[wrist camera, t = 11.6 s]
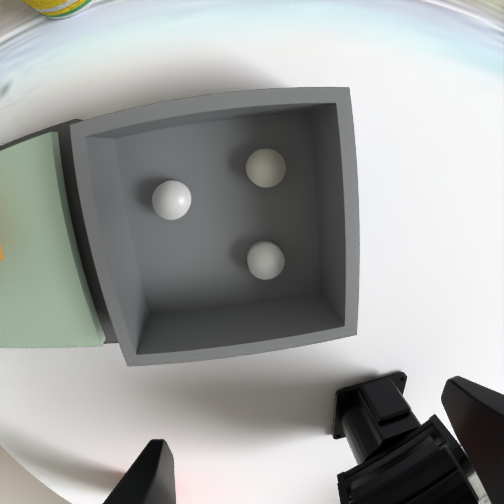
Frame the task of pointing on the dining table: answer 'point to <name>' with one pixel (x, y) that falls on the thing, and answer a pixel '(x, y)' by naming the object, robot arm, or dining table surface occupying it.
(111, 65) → the dining table surface
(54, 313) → the lid
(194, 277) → the tub
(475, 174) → the dining table surface
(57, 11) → the supplement bottle
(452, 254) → the dining table surface
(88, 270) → the mat
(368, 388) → the robot arm
